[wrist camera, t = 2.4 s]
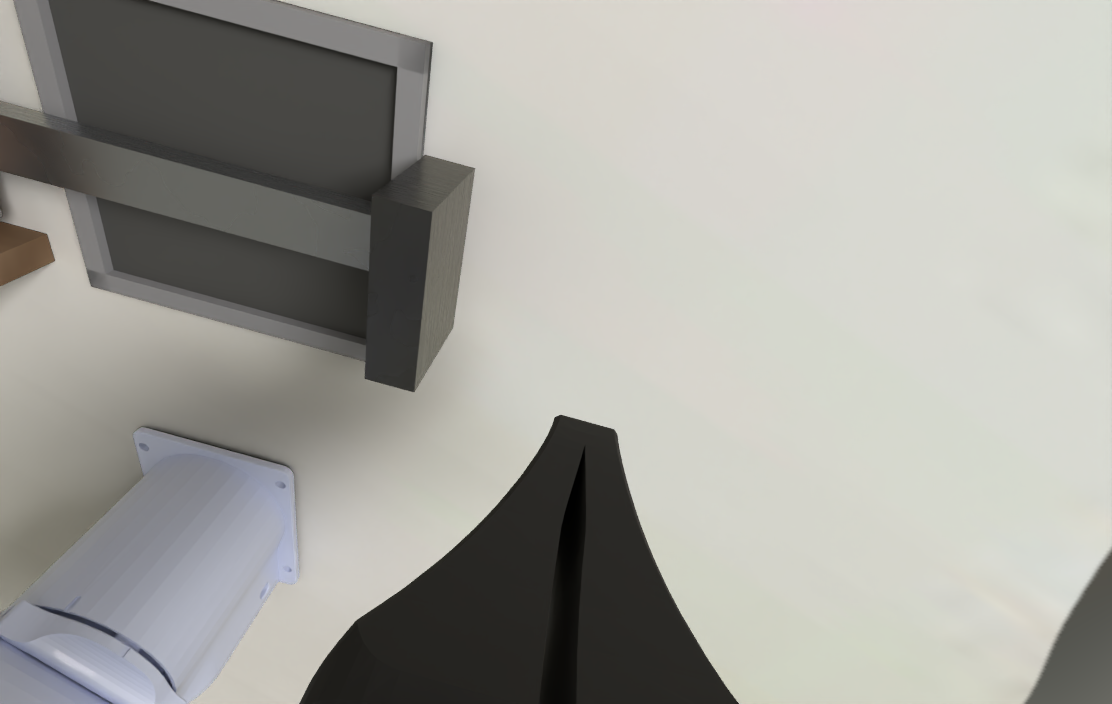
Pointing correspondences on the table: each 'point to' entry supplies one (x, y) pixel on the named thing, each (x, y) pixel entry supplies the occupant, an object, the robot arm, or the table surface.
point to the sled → (282, 221)
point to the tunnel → (22, 251)
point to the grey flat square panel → (233, 142)
